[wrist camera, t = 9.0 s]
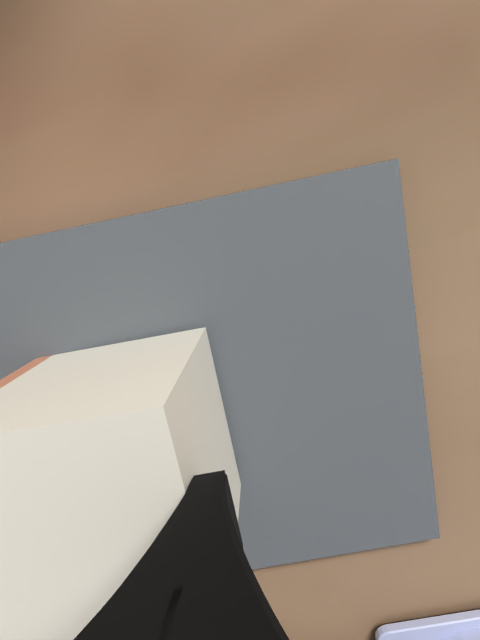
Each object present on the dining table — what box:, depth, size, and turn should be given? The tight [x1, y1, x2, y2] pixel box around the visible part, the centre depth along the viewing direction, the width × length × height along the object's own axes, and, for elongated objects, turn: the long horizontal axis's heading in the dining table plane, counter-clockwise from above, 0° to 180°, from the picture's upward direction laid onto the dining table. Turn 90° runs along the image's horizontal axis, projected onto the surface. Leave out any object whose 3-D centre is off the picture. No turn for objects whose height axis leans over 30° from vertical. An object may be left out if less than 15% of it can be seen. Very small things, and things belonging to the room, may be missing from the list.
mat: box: [0, 159, 440, 570], centre depth 15 cm, size 14×20×1 cm
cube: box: [0, 327, 241, 640], centre depth 11 cm, size 6×6×6 cm
